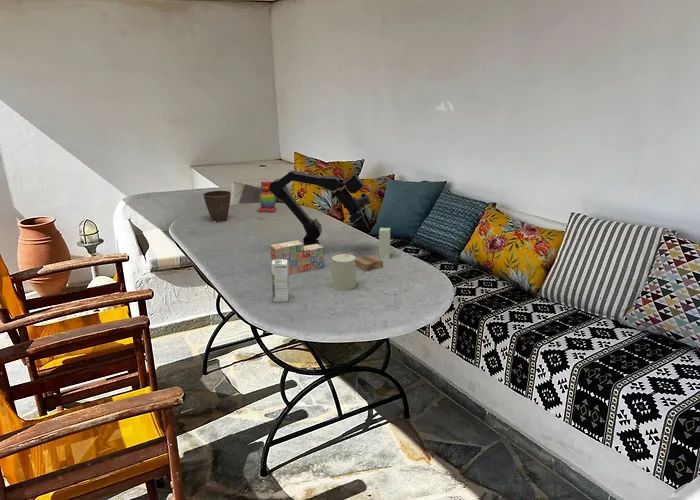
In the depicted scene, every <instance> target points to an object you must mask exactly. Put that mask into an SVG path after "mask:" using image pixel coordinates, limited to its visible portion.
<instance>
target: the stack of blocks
mask: <svg viewBox="0 0 700 500" xmlns="http://www.w3.org/2000/svg"><path fill="white" fill-rule="evenodd" d="M324 253H325V252H324V247H323V246H322V245H318V244H313V245H307V246H304V242H301V241H300V240H298V239H297V240H296V239H295V240H291V241H287V242H286V241H285V242H280V243H274V244H270V258H271V262H272V260H277V259H284V260H288V275H292V274H293V275H294V274H297V273H304V272H308V271H309V272H310V271H314V270H318V269H324V268H325V256H324Z"/></svg>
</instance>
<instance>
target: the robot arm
mask: <svg viewBox="0 0 700 500" xmlns="http://www.w3.org/2000/svg"><path fill="white" fill-rule="evenodd" d="M292 181H293V182H298V183H303V184H309V185H313V186H319V187H320V188H323V189H325V190H327V191H330V193H331V197H330V198H331V199H332V200H333V199H334V198H335V197H336V199H337V200H338V201H339V202H340V204H341V205H342V208H343V209H345V210H346V211H347V212H348V213H349V214H348V215H349V217H348V218H349V219H348V221H349V222H350V223H351V224H352V225H356V226H359V227H360V228H362V229H364V230H366V231H368V230H370V227H369V225H371V223H372V222H371V221H370V219H369V217H368V214H367V213H366V211H367V206H366V205H370V204H371V199H370V195H369V194H366V193H365V192H363V193H361V195H360V196H359V198H356V196H353V195H352V194H356V193H358V192H359V191H361V189H363V188H364V187H365V186H366V185H365V184H364V181H363V180H362V179H361V178H360V177H359V176H357V175H356V174H355V173H354V174H352V175H351V177H349V179H348V180H345V179H341V178H339V176H336V175H315V174H311V173H305V172H300V171H295V170H290V171H289V172H288V173H287V174H285V175H284V176H282V177H281V178H276V179H273V181H271V182H272V183H271V184H270V186H269V190H270V192H271V193H273V194H274V196H275V198H277V199H279V200H280V201H282V202H283V203H284V204H285V205H286V206H287V208H288V209H289V210H290V211H291V212H292V214H293V215H294V216H295V217H296V218H297V220H298V221H299V222H300V223H301V224H302V226H303V229H304V231H305V235H304V237H303V238H302V240H303V241H302V243H303V246H307V245H313V244H318V245H320V241H319V238H320V236H322V235H321V234H322V232H323V227H322V224H321V223H320V222H319V220H318V219H317V218H314V219H312V218H311V217H310V216H309V215H308V214H307V213H306V211H305V210H304V209H303V208H302V207H301V205H299V203H298V201H296V199H294V197H293V196H292V195H291V194H290V191H289V189H288V187H287V185H289V184H290V183H292ZM320 246H321V245H320Z"/></svg>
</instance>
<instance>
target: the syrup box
mask: <svg viewBox="0 0 700 500" xmlns="http://www.w3.org/2000/svg"><path fill="white" fill-rule="evenodd" d="M289 284H290V283H289V274H288V260H284V259H277V260H272V261H271V286H272V287H271V289H272V302H274V303H276V302H277V303H280V302H281V303H282V302H289V297H290V292H289V291H290V290H289V289H290V285H289Z"/></svg>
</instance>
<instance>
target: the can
mask: <svg viewBox="0 0 700 500" xmlns="http://www.w3.org/2000/svg"><path fill="white" fill-rule="evenodd" d="M356 258H357V257H356V256H355V255H353V254H347V253H342V254H341V253H340V254H335V255H333V256H332V257H331V263H332V287H333V288H334V289H335V290H339V291H349V290H353V289H355V288H356V287H357V284H356V283H357V282H356V277H357V276H356V266H355V259H356Z"/></svg>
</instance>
